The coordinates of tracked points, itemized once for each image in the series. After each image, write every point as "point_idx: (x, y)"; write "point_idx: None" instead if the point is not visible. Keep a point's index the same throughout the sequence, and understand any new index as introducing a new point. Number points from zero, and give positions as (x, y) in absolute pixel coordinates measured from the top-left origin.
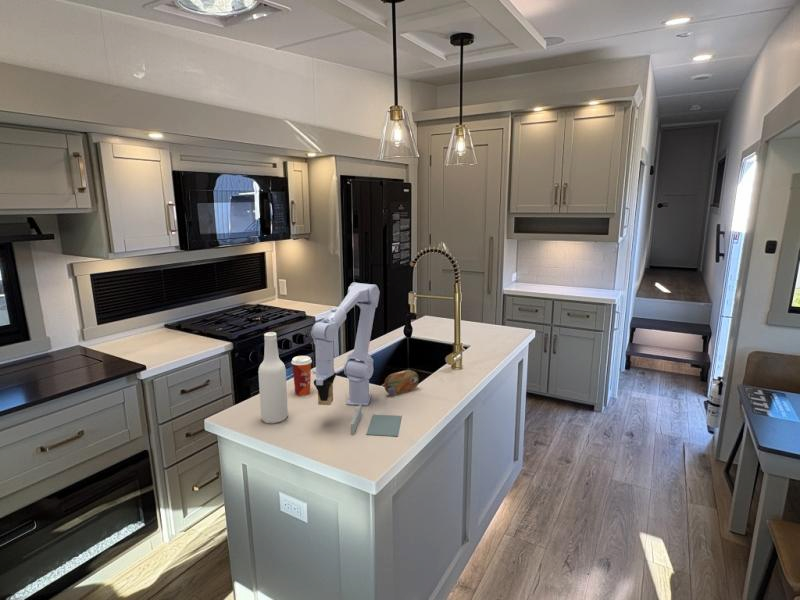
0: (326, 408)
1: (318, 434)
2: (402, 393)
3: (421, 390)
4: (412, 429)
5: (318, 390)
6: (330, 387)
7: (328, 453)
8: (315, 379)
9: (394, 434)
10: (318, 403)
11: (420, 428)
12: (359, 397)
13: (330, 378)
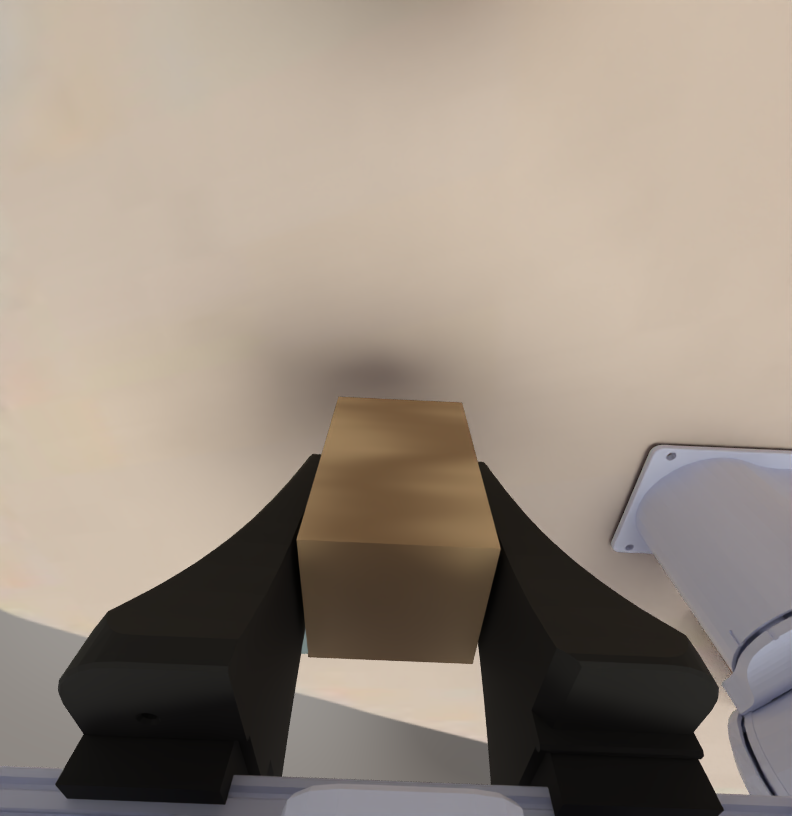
0: (621, 325)
1: (232, 352)
2: (721, 656)
3: (731, 704)
4: (362, 681)
5: (232, 545)
6: (351, 648)
7: (58, 442)
8: (225, 675)
9: (304, 645)
10: (337, 405)
11: (373, 697)
12: (656, 547)
13: (499, 725)
